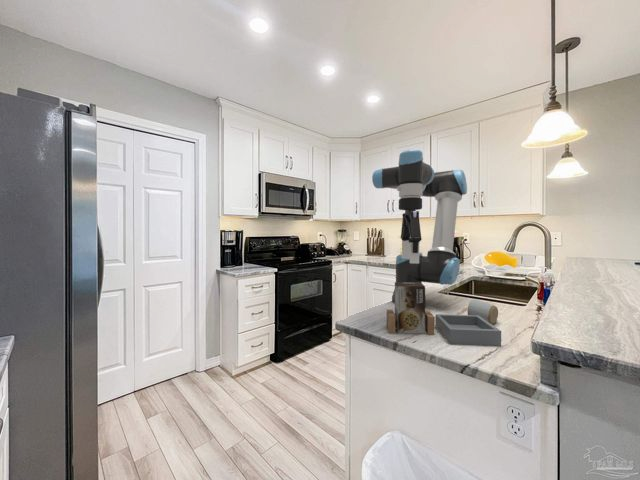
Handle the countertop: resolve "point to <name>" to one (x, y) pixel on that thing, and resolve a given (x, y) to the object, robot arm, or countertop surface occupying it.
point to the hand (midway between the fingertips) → (409, 260)
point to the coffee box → (410, 307)
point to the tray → (467, 330)
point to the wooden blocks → (428, 322)
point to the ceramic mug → (483, 310)
